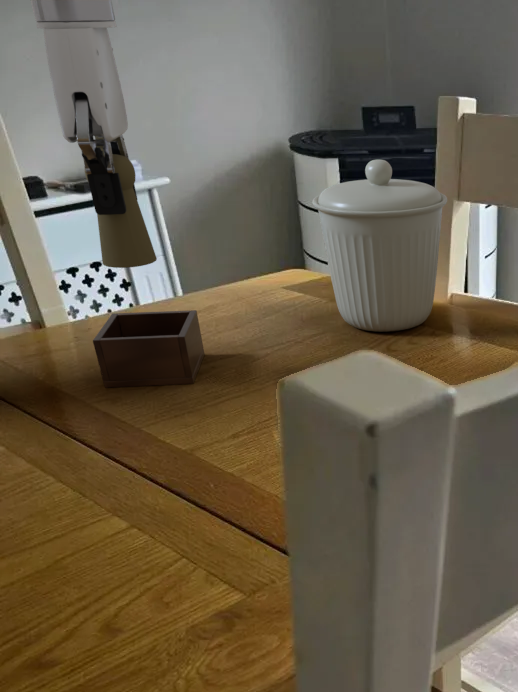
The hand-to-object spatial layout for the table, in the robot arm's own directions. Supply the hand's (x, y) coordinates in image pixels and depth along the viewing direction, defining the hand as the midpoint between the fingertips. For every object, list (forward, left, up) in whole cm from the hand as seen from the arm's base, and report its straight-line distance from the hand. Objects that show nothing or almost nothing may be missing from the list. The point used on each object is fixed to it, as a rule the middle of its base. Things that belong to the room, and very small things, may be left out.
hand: (117, 206), depth 93 cm
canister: (+30, +17, -20) cm, 40 cm away
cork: (0, 0, -6) cm, 6 cm away
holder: (0, +1, -19) cm, 19 cm away
